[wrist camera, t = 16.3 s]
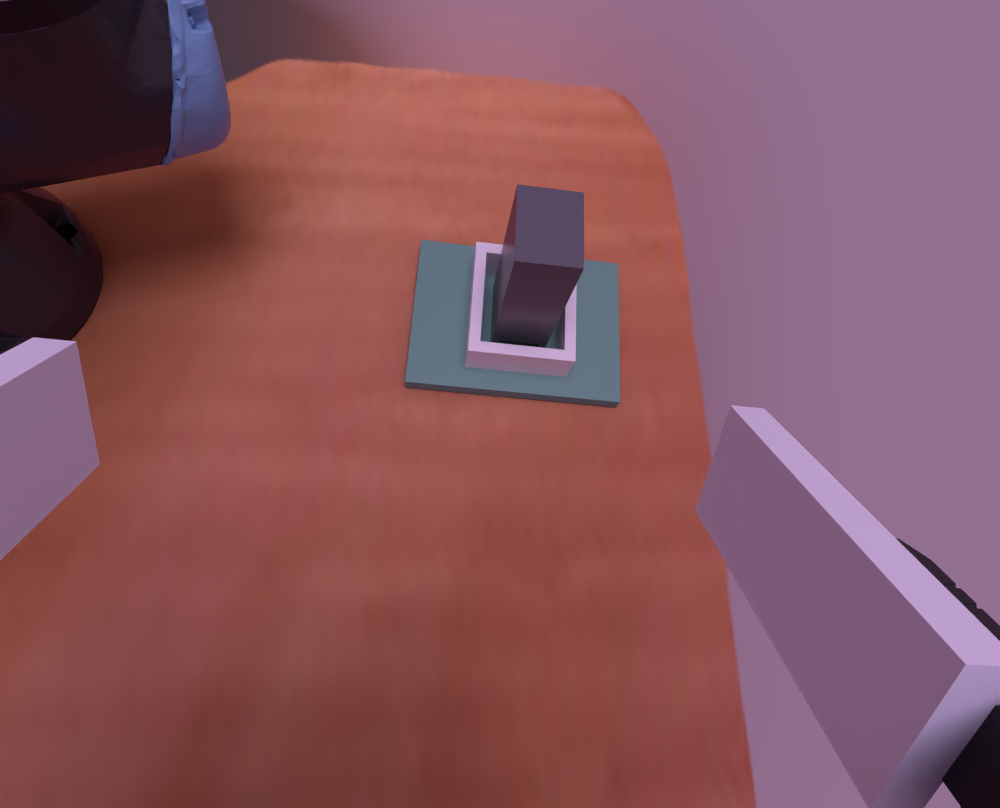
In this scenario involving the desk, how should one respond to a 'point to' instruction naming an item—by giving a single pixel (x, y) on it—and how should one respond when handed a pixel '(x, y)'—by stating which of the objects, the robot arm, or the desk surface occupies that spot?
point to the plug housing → (537, 264)
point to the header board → (508, 365)
